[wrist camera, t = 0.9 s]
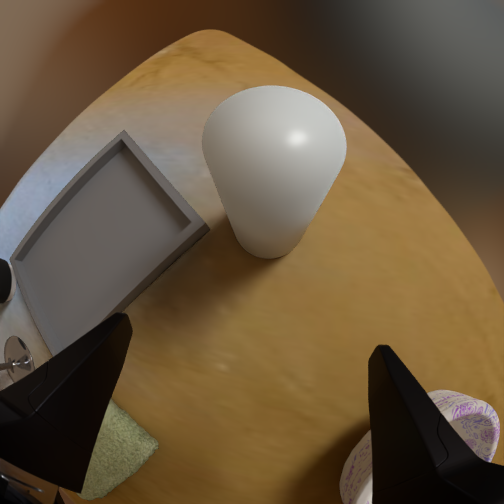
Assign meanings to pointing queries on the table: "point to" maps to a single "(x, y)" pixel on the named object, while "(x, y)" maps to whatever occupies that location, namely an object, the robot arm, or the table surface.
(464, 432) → the paper bowls
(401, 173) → the table surface
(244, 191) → the white cylinder
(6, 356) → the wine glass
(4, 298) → the dixie cup
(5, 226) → the table surface
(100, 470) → the washcloth
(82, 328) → the tray
